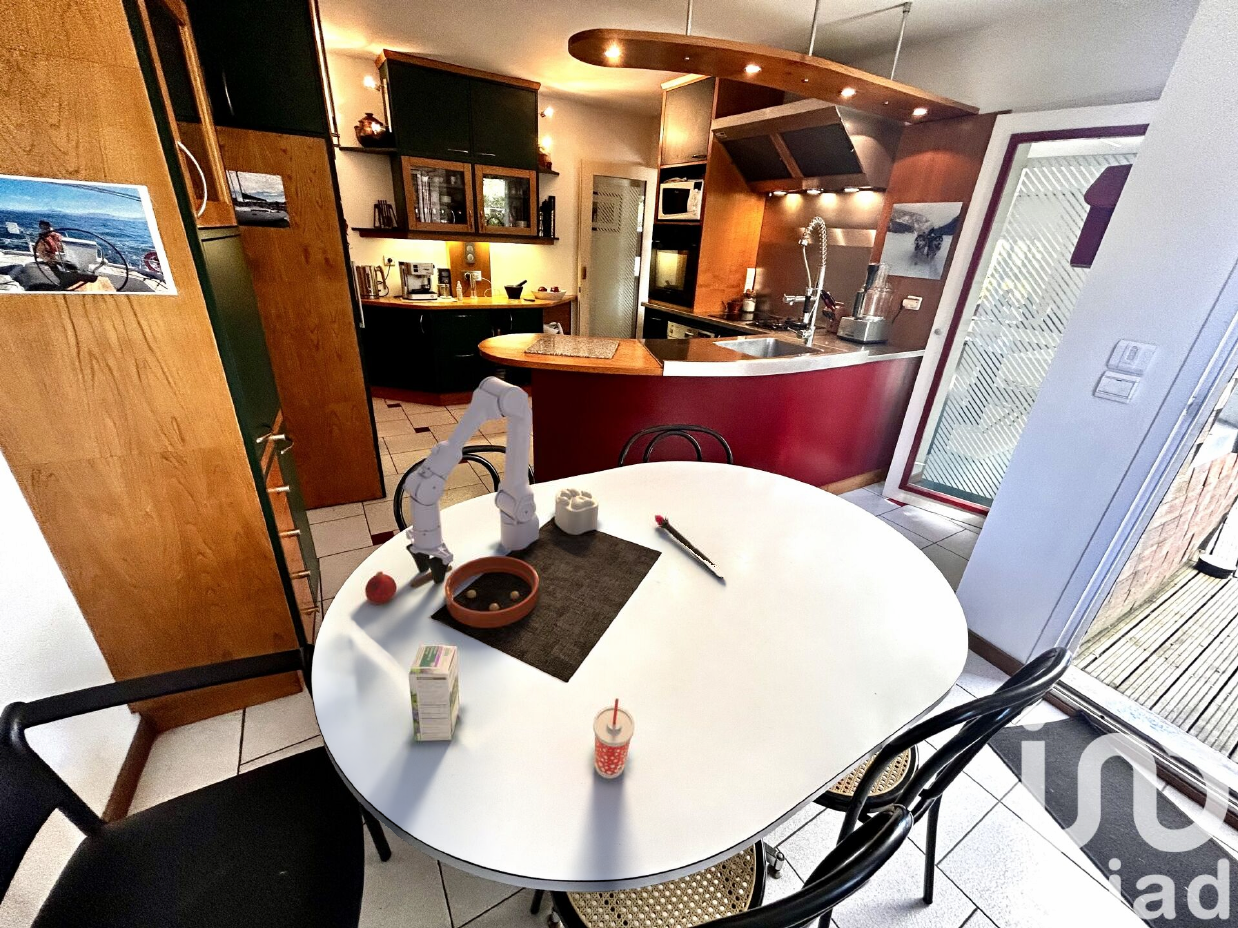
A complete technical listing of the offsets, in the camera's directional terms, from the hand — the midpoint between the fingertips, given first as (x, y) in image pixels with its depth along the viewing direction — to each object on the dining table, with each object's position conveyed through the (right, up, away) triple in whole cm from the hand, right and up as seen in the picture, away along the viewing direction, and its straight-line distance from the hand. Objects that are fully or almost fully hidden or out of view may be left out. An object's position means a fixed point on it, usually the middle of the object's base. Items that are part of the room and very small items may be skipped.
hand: (431, 576), depth 110 cm
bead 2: (+16, -5, -8) cm, 18 cm away
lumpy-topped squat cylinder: (+29, +9, +29) cm, 42 cm away
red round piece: (-8, -4, -7) cm, 11 cm away
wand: (+60, +2, +21) cm, 64 cm away
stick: (0, -1, +1) cm, 1 cm away
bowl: (+15, -5, -4) cm, 16 cm away
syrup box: (+13, -17, -31) cm, 38 cm away
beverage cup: (+41, -21, -35) cm, 57 cm away
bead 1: (+10, -3, -5) cm, 12 cm away
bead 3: (+20, -3, -4) cm, 20 cm away
